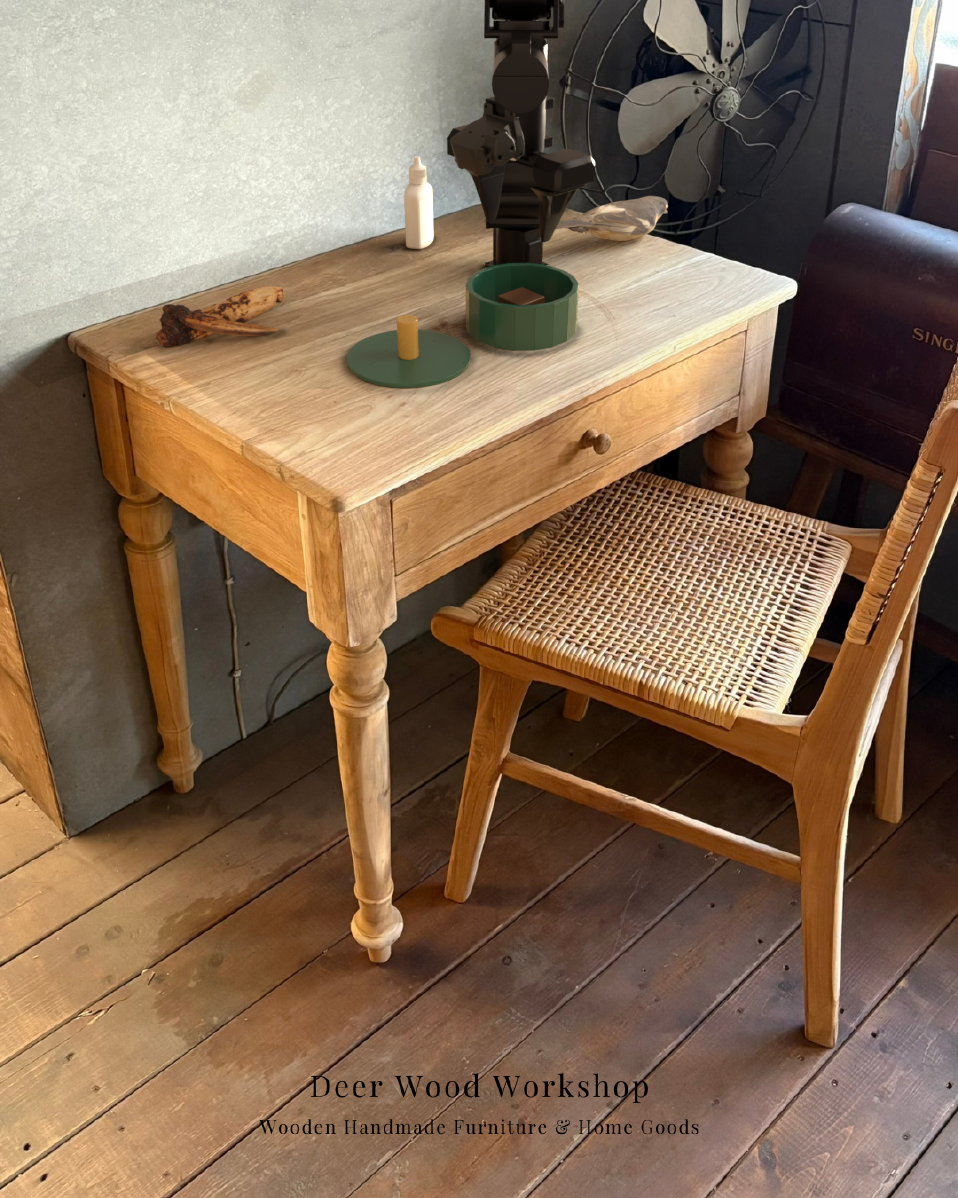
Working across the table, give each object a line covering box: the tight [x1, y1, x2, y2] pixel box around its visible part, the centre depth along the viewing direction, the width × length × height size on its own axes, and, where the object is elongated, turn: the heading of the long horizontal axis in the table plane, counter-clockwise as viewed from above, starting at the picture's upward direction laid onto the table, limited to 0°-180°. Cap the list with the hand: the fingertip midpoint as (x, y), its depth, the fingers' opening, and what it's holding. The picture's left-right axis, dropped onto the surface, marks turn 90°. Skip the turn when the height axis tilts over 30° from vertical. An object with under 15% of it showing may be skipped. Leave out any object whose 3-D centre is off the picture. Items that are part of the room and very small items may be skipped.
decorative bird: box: [555, 195, 669, 242], centre depth 167 cm, size 6×25×5 cm, turn 127°
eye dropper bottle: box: [403, 155, 435, 250], centre depth 166 cm, size 4×6×12 cm
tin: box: [465, 263, 580, 352], centre depth 144 cm, size 13×14×6 cm
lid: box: [346, 314, 471, 389], centre depth 137 cm, size 14×14×6 cm
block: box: [498, 287, 545, 305], centre depth 145 cm, size 4×4×4 cm
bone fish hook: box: [155, 285, 285, 347], centre depth 144 cm, size 9×5×18 cm
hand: (517, 230), depth 138 cm, fingers open, 9 cm apart
